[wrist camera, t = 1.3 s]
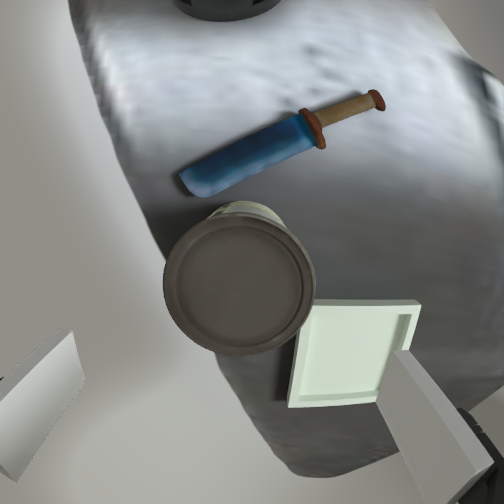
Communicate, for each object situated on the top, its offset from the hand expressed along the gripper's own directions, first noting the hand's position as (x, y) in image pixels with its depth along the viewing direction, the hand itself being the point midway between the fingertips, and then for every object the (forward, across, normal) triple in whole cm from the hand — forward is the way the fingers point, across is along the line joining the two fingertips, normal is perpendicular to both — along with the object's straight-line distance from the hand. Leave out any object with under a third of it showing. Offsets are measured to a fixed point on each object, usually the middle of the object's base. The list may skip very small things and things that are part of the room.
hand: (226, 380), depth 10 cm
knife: (+23, +4, +12) cm, 26 cm away
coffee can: (+23, 0, 0) cm, 23 cm away
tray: (+23, +15, -14) cm, 31 cm away
